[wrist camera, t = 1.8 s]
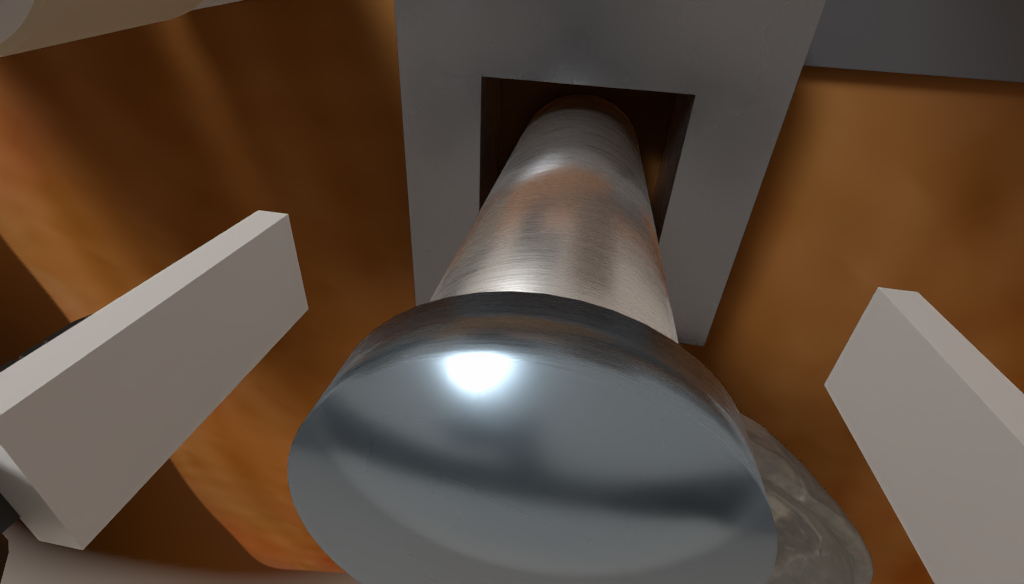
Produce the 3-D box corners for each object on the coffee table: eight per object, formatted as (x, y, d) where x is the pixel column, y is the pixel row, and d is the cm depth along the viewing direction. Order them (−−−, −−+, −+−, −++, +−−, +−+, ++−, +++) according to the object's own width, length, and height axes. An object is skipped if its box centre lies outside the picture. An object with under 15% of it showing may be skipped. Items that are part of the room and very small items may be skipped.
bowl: (702, 568, 33) (726, 713, 27) (464, 487, 33) (428, 614, 26) (891, 401, 23) (1003, 567, 17) (552, 281, 23) (531, 403, 16)
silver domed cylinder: (508, 70, 18) (231, 318, 5) (670, 84, 17) (882, 416, 4) (502, 216, 21) (328, 607, 8) (638, 232, 21) (695, 686, 7)
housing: (428, -30, 17) (391, -33, 14) (786, -8, 16) (828, -5, 13) (439, 265, 23) (415, 305, 20) (691, 298, 22) (703, 346, 19)
